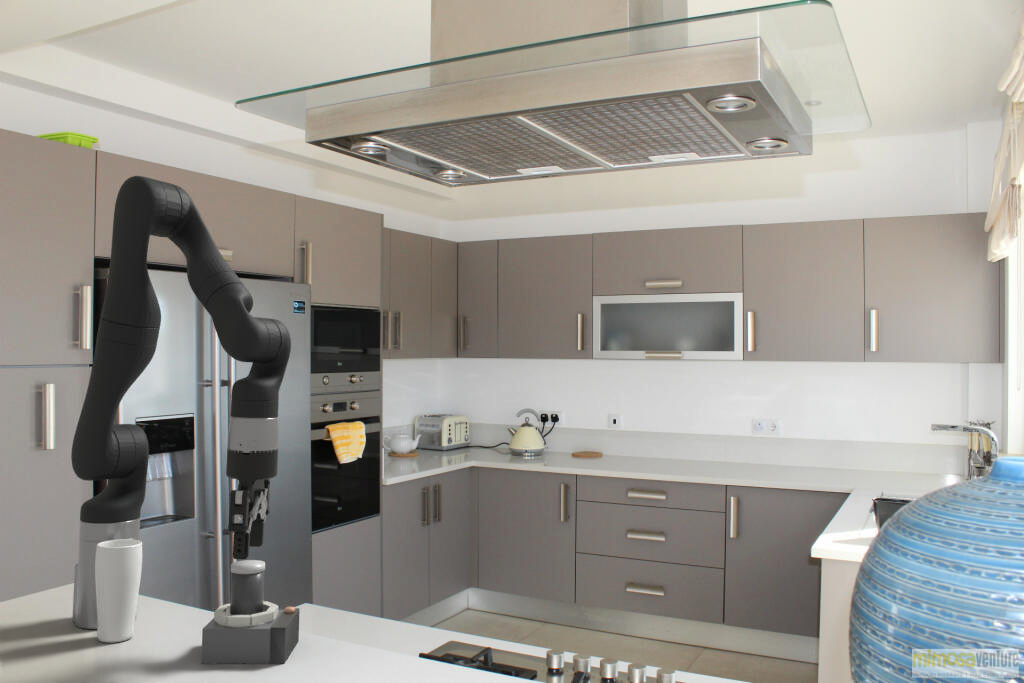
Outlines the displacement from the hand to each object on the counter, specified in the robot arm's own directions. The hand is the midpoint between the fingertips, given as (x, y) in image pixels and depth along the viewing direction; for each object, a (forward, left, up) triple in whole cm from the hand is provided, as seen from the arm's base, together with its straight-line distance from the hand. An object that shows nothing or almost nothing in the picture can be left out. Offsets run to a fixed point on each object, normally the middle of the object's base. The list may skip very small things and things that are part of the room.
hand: (248, 552), depth 125 cm
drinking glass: (-22, -6, -15) cm, 27 cm away
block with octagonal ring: (+1, 0, -15) cm, 15 cm away
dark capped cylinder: (0, 0, -10) cm, 10 cm away
